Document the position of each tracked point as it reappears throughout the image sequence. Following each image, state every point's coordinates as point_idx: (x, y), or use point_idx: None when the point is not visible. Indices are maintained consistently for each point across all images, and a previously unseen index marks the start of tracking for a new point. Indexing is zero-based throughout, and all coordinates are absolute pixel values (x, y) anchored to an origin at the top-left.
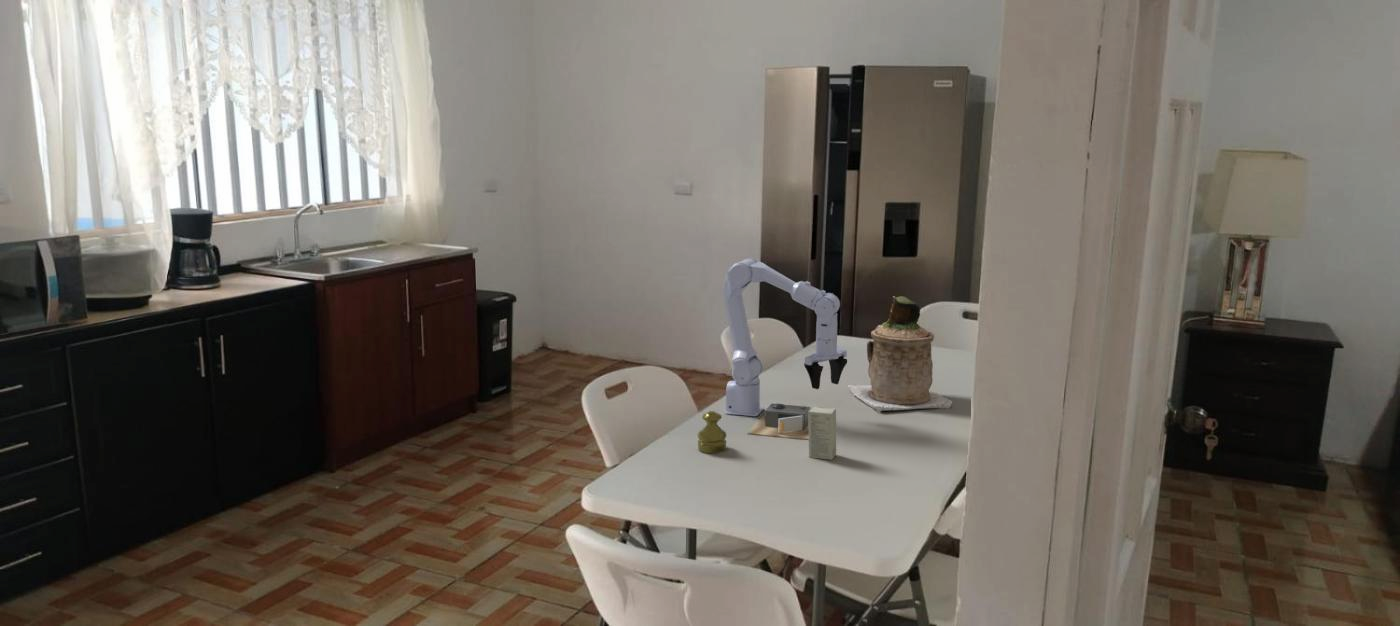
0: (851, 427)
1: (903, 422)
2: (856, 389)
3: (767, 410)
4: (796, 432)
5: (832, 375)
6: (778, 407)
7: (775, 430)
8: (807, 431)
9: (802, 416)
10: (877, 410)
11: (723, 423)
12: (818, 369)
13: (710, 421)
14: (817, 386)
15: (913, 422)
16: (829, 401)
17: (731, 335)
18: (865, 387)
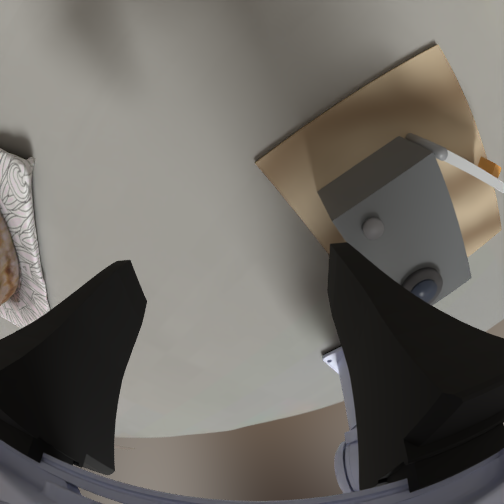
0: (204, 52)
1: (26, 45)
2: None
3: (466, 276)
4: (436, 135)
5: (124, 338)
6: (439, 275)
7: (459, 197)
8: (403, 114)
9: (443, 147)
10: (31, 165)
11: (462, 314)
12: (501, 349)
13: None
14: (358, 251)
15: (10, 40)
16: None
17: None
18: (21, 321)
